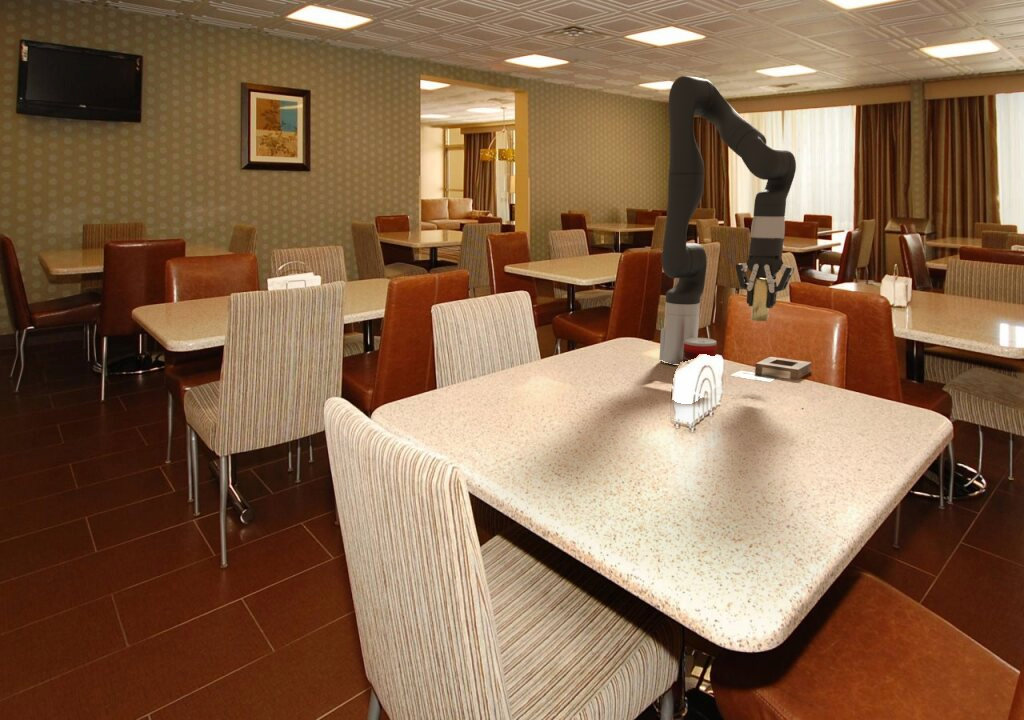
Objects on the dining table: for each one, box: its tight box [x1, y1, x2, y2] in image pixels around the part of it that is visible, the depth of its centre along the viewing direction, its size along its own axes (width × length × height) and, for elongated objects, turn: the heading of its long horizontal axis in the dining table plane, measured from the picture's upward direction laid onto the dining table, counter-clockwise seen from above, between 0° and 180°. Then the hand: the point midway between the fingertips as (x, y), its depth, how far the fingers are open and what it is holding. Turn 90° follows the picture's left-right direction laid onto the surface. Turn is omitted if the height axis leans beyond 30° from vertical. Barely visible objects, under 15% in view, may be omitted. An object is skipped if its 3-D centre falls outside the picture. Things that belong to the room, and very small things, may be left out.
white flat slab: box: [729, 370, 780, 383], centre depth 169 cm, size 10×7×2 cm
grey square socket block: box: [754, 356, 812, 381], centre depth 173 cm, size 10×11×4 cm
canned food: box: [683, 337, 718, 362], centre depth 166 cm, size 8×8×11 cm
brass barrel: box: [750, 278, 770, 322], centre depth 164 cm, size 4×4×10 cm
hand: (760, 306), depth 165 cm, fingers closed on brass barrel, 4 cm apart
